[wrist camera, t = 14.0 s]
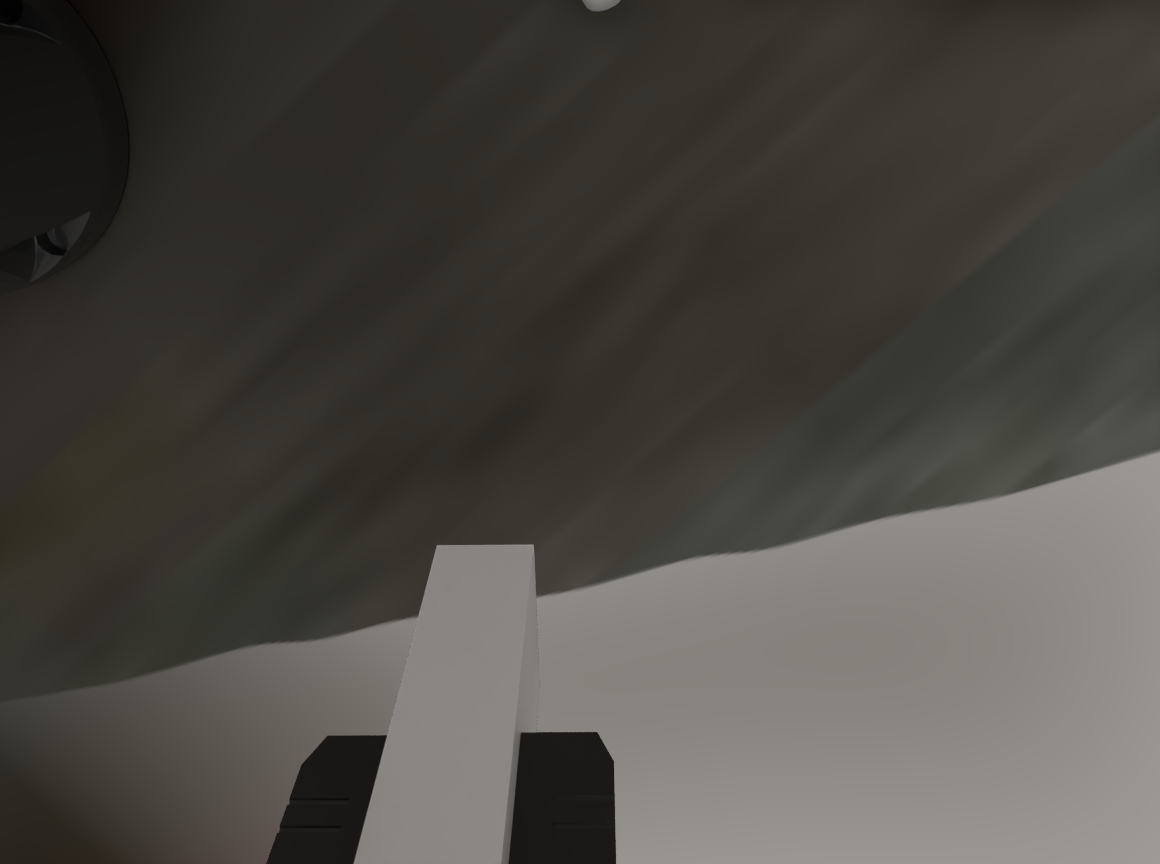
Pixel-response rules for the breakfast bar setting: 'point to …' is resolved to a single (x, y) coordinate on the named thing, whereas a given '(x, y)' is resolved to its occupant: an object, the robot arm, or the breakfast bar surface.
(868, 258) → the breakfast bar surface
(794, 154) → the breakfast bar surface
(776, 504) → the breakfast bar surface
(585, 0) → the mug
